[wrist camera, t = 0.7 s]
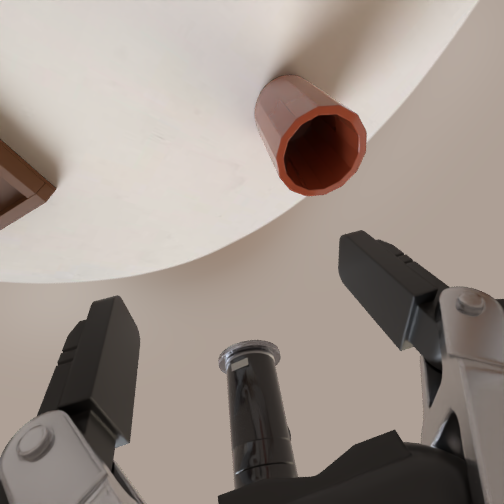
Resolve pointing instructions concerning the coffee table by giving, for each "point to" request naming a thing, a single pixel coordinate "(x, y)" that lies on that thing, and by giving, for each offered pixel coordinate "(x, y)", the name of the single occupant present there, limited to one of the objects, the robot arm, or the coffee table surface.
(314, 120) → the tumbler
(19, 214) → the tray
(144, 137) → the coffee table surface
